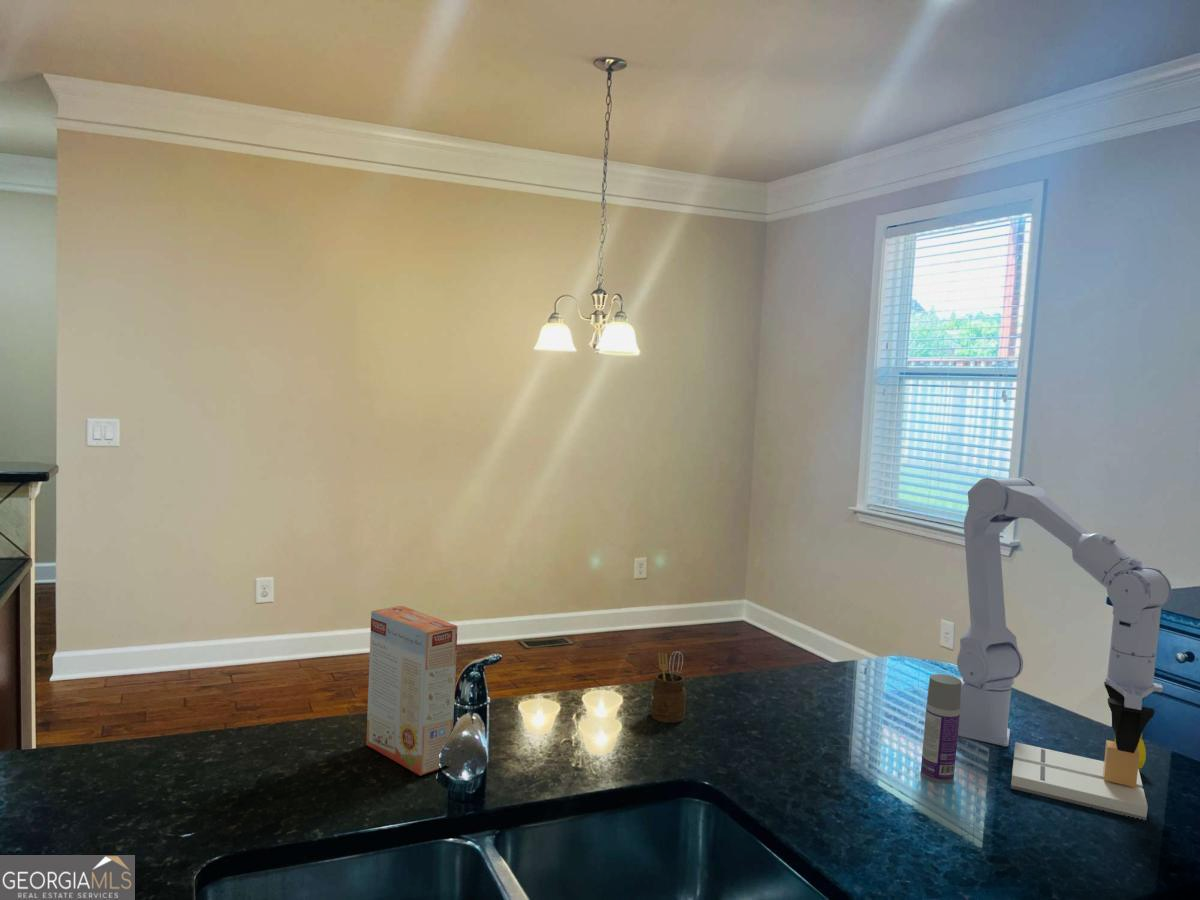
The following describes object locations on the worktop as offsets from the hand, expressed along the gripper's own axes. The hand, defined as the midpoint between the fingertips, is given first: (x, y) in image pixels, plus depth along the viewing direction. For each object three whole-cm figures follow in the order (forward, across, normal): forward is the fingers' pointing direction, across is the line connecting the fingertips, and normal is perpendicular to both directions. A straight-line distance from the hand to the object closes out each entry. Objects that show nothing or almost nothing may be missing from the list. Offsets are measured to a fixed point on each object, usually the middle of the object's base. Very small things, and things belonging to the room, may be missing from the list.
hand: (1123, 741), depth 126 cm
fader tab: (+8, 0, 0) cm, 8 cm away
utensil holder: (+8, -12, +67) cm, 69 cm away
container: (+8, -9, +24) cm, 27 cm away
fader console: (+8, 0, +6) cm, 10 cm away
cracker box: (+8, -48, +93) cm, 105 cm away
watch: (+8, +13, -2) cm, 16 cm away
